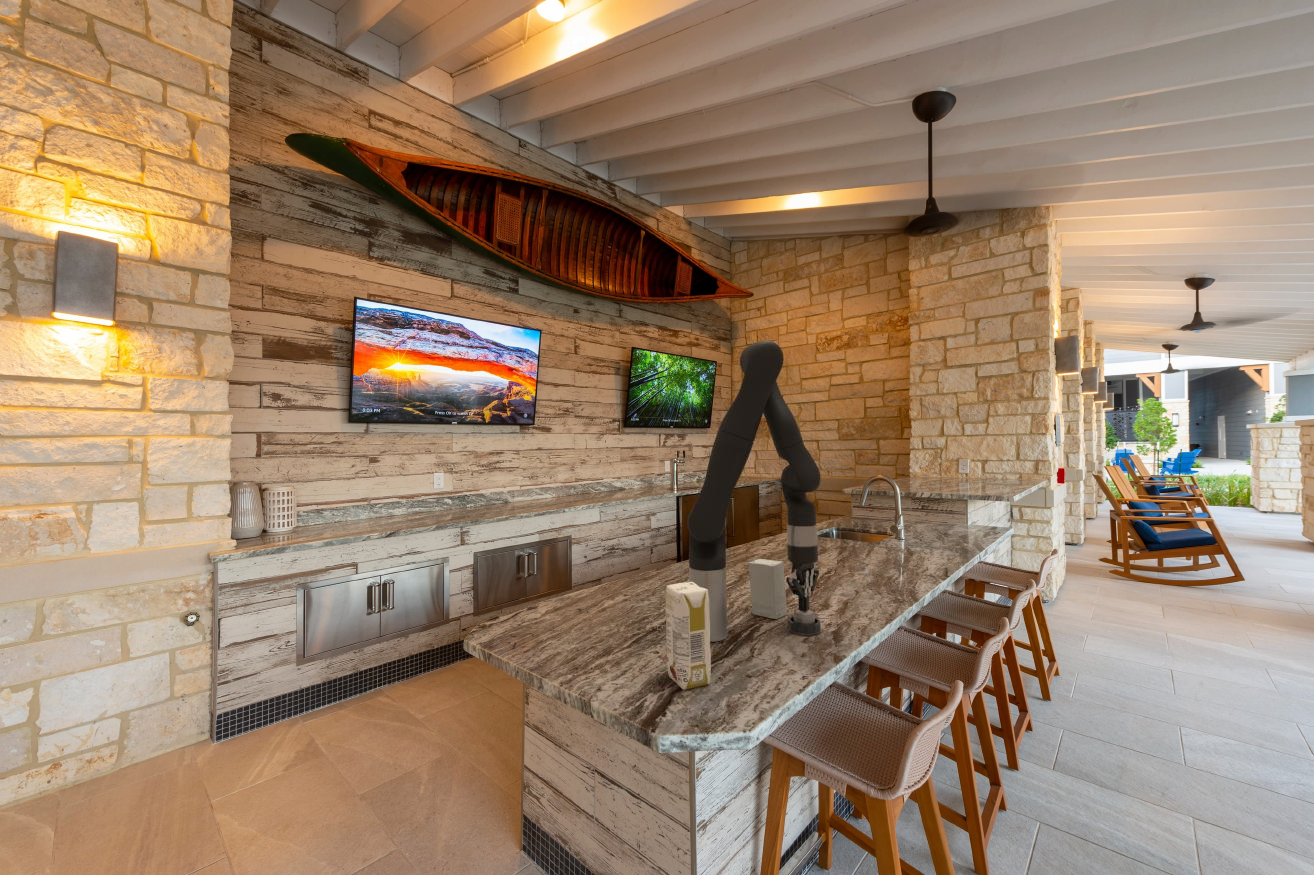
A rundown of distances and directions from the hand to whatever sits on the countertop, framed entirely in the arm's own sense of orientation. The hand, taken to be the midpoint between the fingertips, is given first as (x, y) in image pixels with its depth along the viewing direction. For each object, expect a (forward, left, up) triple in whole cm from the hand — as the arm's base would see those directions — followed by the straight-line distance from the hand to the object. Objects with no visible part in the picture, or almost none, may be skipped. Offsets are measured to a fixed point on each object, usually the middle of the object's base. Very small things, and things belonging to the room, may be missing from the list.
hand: (804, 610), depth 133 cm
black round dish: (0, 0, -5) cm, 5 cm away
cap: (0, 0, -4) cm, 5 cm away
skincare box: (-5, +14, -5) cm, 15 cm away
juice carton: (-35, -21, -5) cm, 41 cm away
